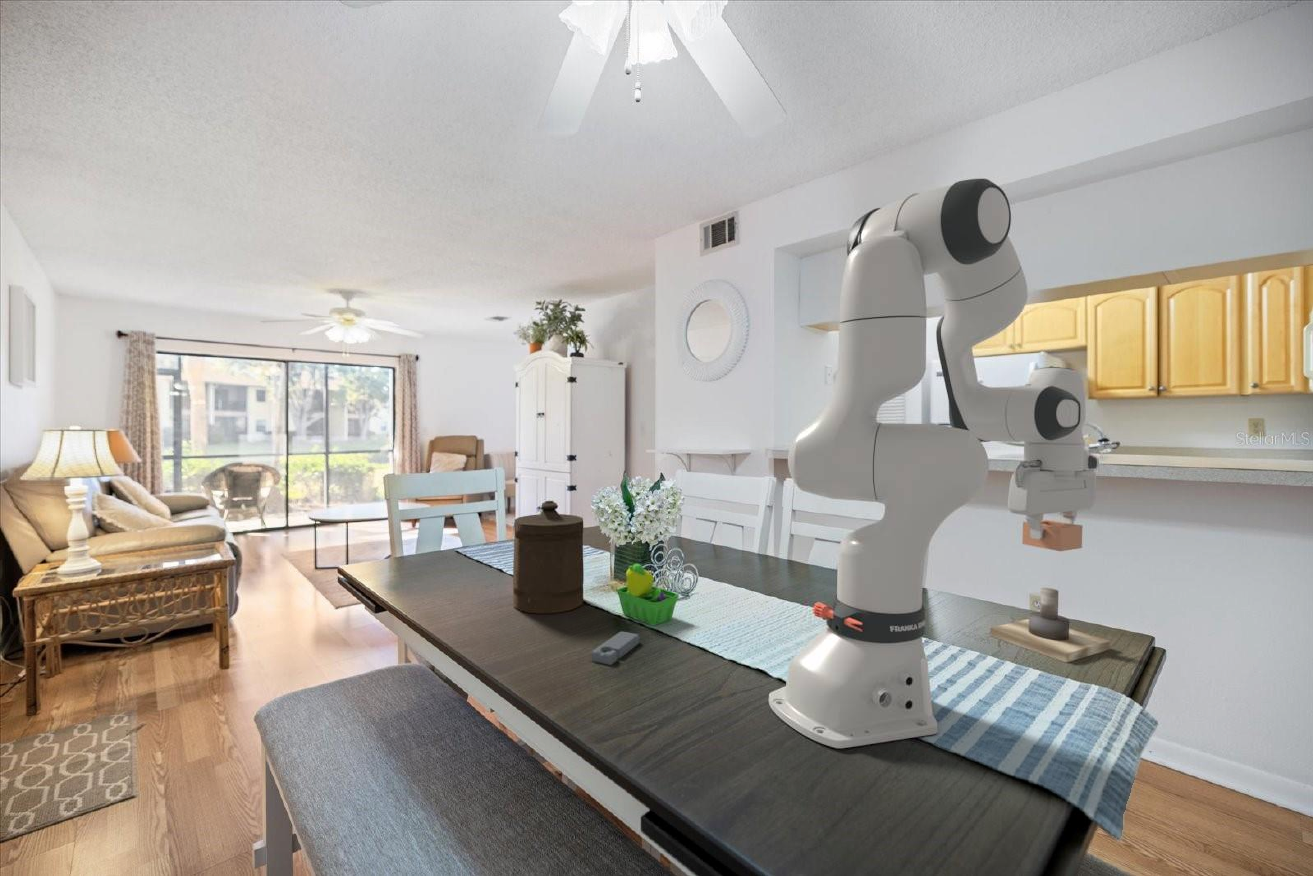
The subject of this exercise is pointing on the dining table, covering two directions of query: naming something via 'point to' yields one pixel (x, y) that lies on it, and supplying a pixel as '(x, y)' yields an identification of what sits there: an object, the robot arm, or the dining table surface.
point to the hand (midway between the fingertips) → (1051, 536)
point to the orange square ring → (1055, 536)
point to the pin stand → (1050, 633)
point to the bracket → (615, 648)
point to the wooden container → (548, 561)
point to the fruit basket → (645, 597)
